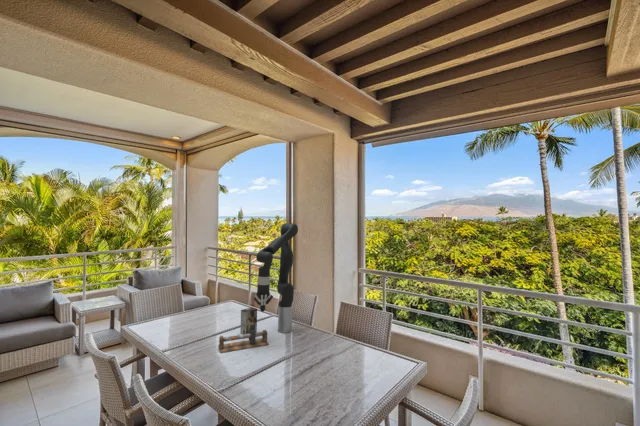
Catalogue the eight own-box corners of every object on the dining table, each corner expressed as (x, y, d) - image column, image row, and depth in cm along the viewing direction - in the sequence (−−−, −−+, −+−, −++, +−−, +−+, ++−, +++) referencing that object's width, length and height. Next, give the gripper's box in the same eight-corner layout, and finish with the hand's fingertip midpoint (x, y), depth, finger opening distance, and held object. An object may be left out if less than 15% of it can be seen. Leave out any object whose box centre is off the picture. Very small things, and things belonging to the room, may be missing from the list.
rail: (264, 339, 182) (264, 328, 183) (268, 345, 174) (268, 333, 174) (218, 346, 170) (218, 334, 170) (220, 353, 161) (221, 340, 161)
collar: (252, 338, 178) (253, 322, 178) (255, 342, 172) (255, 326, 172) (248, 339, 177) (249, 323, 177) (251, 343, 170) (251, 326, 171)
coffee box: (250, 330, 198) (251, 306, 198) (256, 332, 194) (257, 308, 194) (239, 333, 190) (240, 309, 191) (245, 336, 186) (246, 311, 187)
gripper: (272, 281, 185) (271, 308, 184) (251, 282, 179) (250, 310, 178) (275, 283, 178) (274, 311, 177) (254, 285, 172) (253, 314, 171)
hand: (262, 311), depth 178 cm, fingers closed
